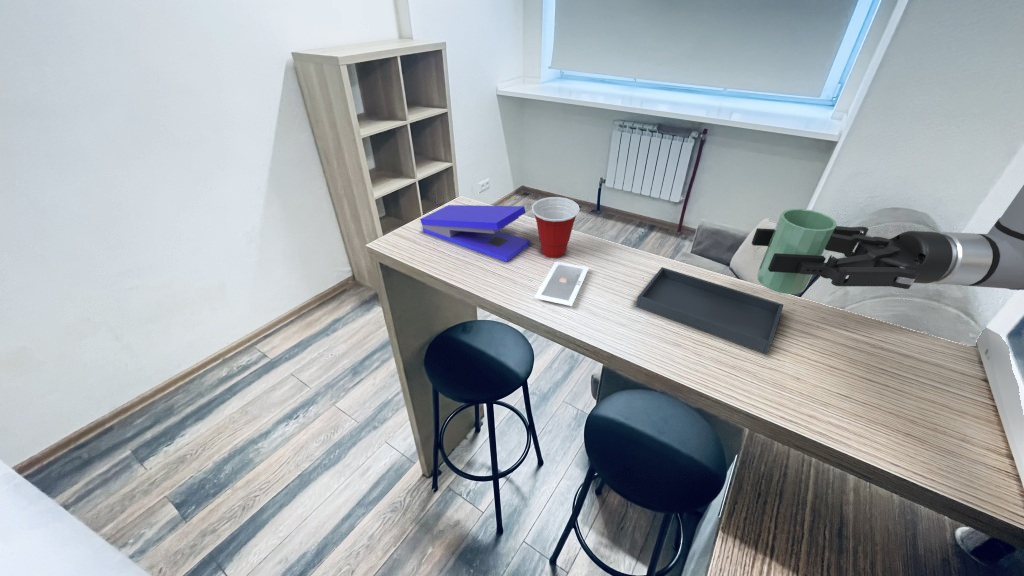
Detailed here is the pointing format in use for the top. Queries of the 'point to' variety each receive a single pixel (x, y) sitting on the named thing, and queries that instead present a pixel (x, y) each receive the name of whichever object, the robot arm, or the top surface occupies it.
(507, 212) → the stapler
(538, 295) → the touchpad
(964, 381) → the top surface
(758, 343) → the tray
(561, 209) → the plastic cup
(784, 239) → the tumbler
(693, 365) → the top surface
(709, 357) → the top surface
